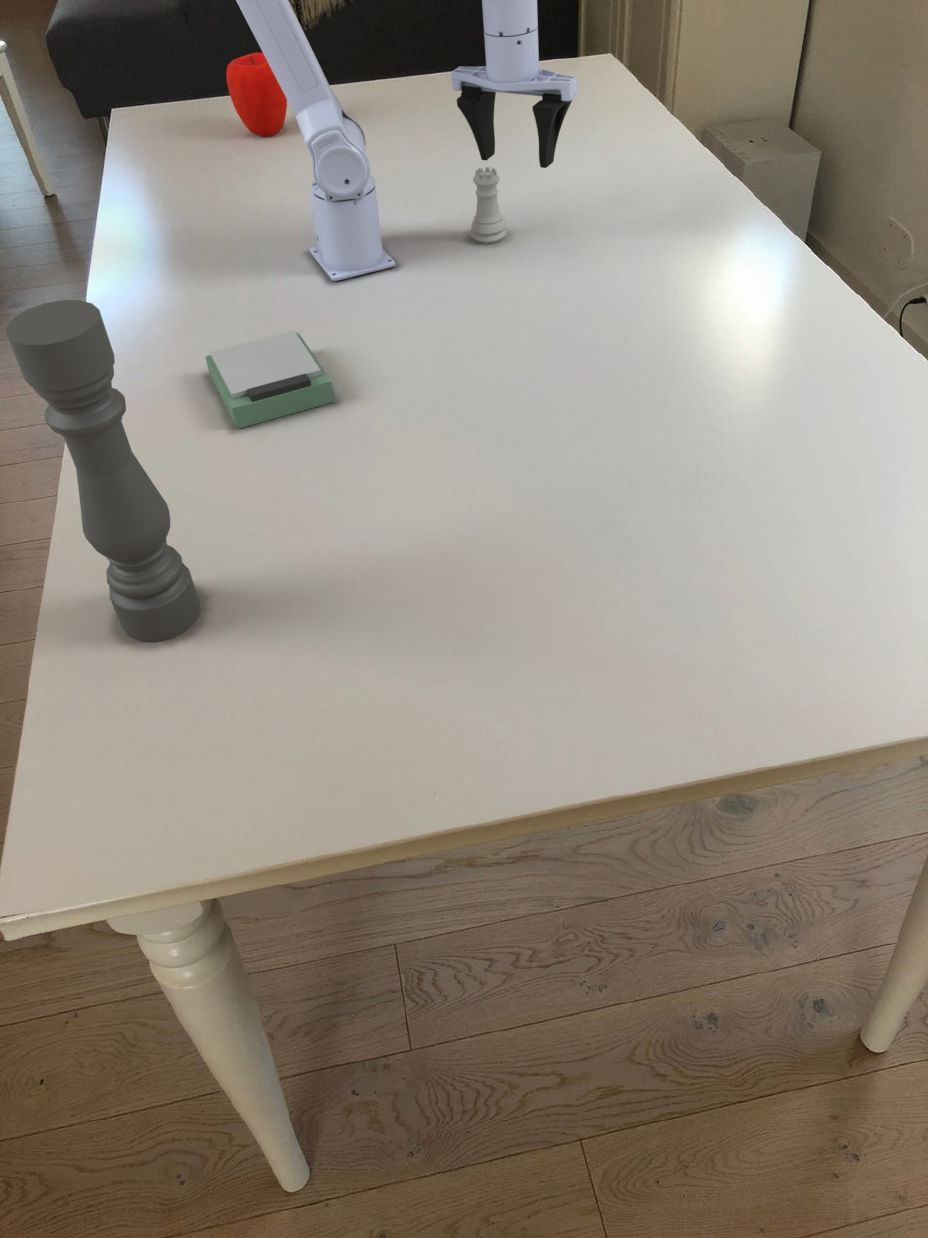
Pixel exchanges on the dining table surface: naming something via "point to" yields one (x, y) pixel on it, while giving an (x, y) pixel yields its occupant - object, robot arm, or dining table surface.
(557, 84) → the robot arm
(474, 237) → the rook chess piece
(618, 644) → the dining table surface
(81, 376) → the candle holder
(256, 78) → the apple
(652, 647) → the dining table surface
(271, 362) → the scale
